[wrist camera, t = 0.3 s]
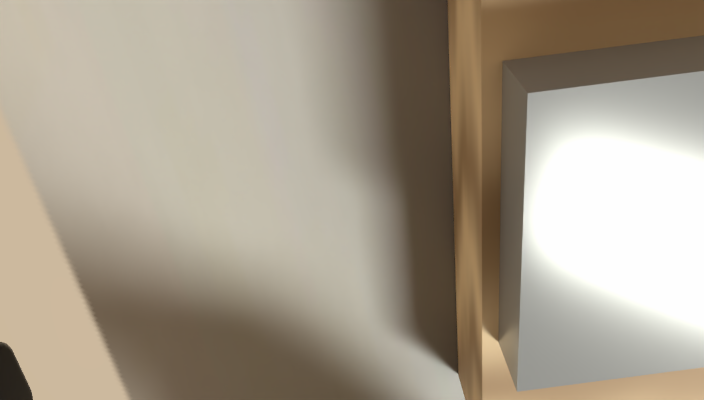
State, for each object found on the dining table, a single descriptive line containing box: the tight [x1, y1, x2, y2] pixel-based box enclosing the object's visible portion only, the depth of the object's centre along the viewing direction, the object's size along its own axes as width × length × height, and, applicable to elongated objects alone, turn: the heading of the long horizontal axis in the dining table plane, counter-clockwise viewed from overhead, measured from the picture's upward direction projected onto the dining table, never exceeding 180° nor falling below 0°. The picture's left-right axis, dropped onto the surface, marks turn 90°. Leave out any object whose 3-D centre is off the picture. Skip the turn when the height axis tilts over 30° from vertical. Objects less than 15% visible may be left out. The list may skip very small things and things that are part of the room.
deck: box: [448, 0, 704, 400], centre depth 20 cm, size 20×8×4 cm, turn 6°
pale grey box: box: [498, 35, 704, 392], centre depth 17 cm, size 9×6×2 cm, turn 6°
